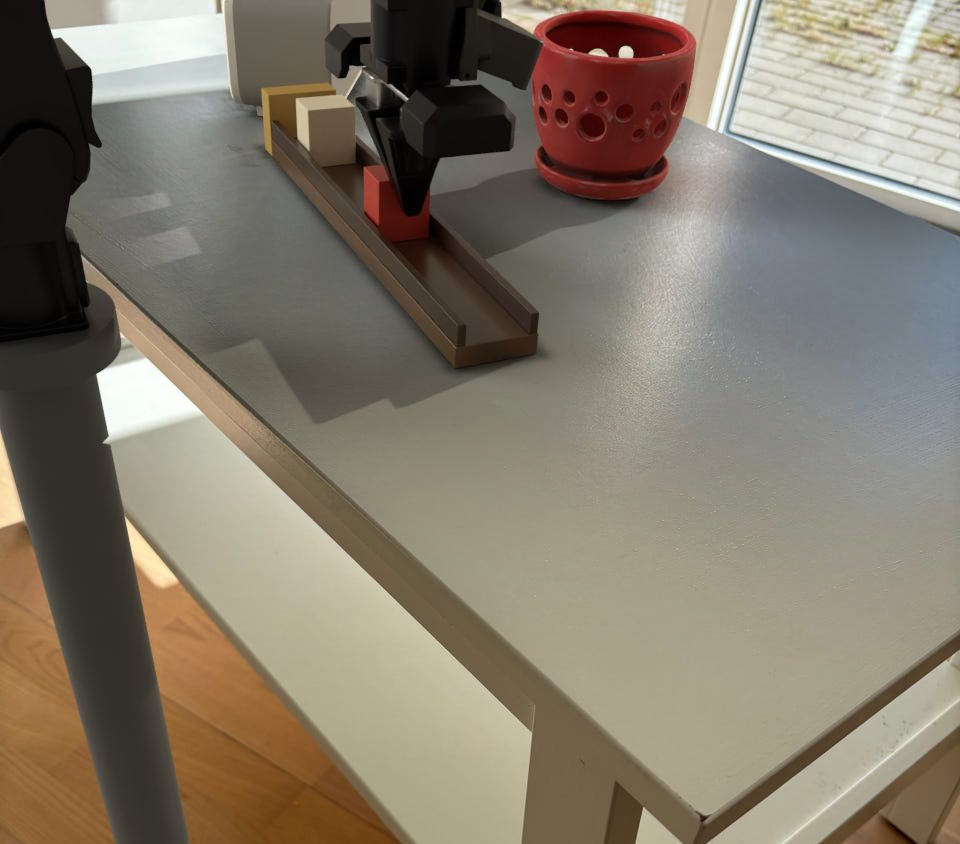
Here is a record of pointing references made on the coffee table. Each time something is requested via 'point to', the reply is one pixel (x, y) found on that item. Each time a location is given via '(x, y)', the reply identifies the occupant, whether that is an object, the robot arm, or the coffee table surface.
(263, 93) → the left stop
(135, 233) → the coffee table surface
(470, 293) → the rail
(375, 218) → the block
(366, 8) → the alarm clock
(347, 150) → the block
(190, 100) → the coffee table surface
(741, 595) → the coffee table surface
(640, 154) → the flower pot
